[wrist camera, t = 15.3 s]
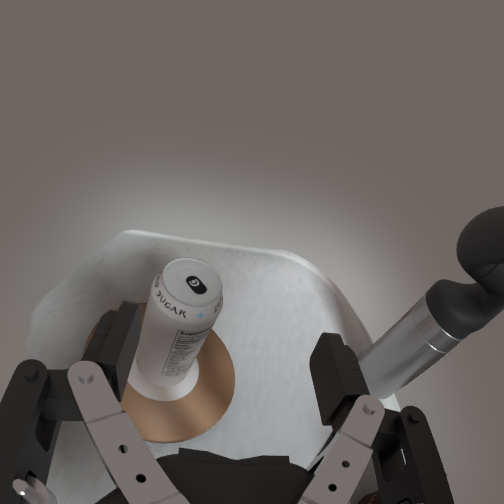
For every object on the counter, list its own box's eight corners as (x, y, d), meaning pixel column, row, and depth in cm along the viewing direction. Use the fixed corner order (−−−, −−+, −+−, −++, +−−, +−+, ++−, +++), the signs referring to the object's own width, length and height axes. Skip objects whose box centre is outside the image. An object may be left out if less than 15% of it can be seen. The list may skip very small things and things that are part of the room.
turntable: (201, 304, 44) (205, 297, 43) (253, 420, 34) (259, 416, 33) (75, 314, 34) (74, 306, 33) (104, 456, 24) (103, 453, 23)
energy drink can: (167, 336, 36) (200, 245, 27) (197, 374, 34) (244, 294, 25) (125, 355, 32) (140, 263, 23) (155, 398, 29) (184, 323, 21)
